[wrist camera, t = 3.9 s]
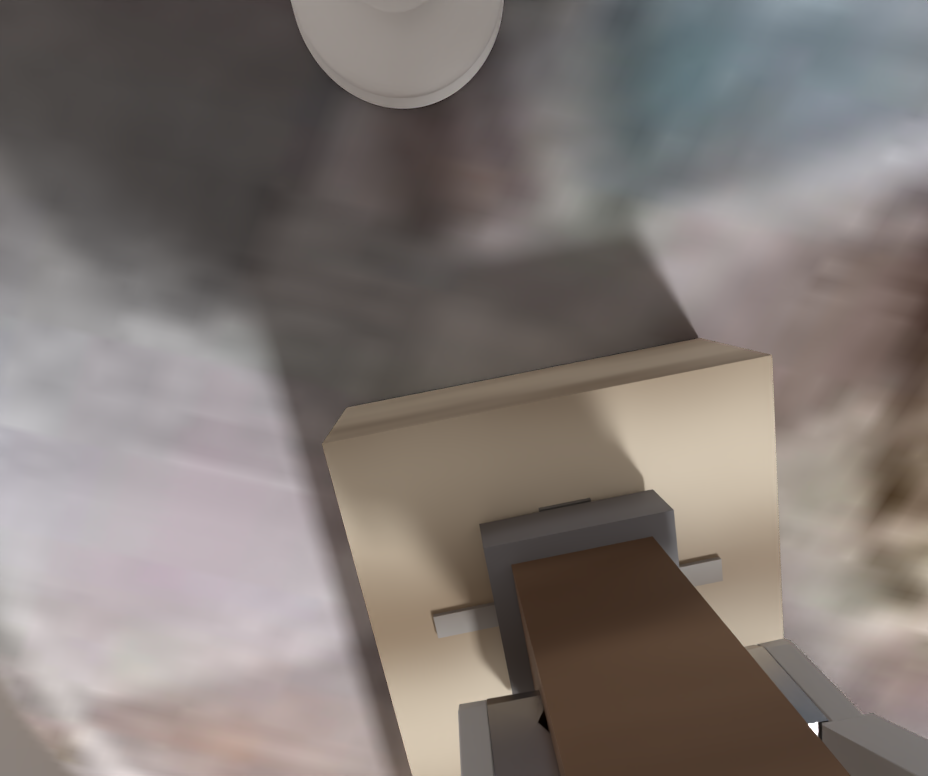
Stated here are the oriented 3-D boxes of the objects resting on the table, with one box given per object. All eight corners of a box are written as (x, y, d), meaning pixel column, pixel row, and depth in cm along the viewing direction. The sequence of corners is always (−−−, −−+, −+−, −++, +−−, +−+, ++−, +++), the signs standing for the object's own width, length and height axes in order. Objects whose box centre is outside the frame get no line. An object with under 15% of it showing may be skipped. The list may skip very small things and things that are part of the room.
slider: (479, 524, 11) (527, 808, 5) (653, 489, 11) (898, 731, 5) (515, 702, 12) (588, 1102, 6) (672, 671, 12) (890, 1038, 6)
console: (346, 407, 13) (320, 445, 10) (699, 338, 14) (775, 356, 11) (486, 953, 19) (495, 1086, 15) (742, 900, 19) (801, 1021, 16)
